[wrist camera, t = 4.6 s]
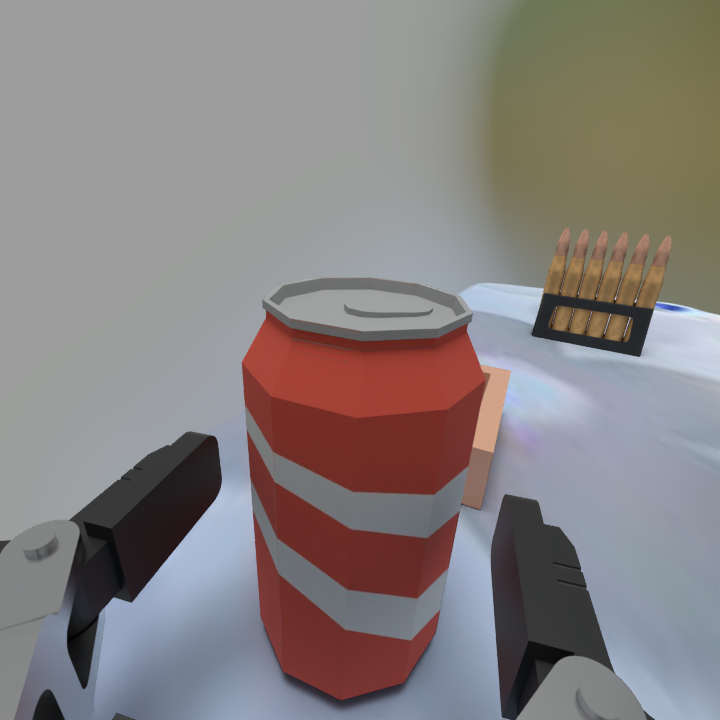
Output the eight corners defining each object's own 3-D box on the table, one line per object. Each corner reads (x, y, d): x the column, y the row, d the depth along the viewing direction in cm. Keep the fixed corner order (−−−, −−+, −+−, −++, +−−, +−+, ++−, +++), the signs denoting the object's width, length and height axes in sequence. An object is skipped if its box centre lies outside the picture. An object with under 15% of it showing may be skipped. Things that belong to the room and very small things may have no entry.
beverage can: (464, 677, 13) (555, 333, 8) (265, 735, 11) (233, 347, 7) (401, 532, 18) (433, 273, 14) (259, 557, 17) (239, 273, 12)
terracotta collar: (369, 382, 32) (371, 342, 31) (500, 414, 29) (510, 370, 27) (302, 451, 24) (302, 399, 22) (480, 509, 20) (493, 452, 18)
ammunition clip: (531, 336, 46) (557, 227, 41) (533, 331, 47) (558, 225, 42) (639, 357, 41) (683, 237, 36) (638, 351, 43) (679, 235, 38)
